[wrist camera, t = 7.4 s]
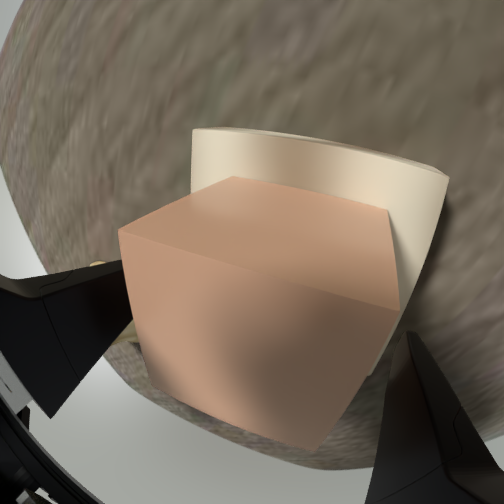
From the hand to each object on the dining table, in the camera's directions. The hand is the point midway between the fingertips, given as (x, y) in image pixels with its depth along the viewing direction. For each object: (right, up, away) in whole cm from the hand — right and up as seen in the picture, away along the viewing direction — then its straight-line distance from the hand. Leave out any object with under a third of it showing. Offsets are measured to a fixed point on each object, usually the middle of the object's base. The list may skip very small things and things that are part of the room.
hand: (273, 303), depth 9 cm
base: (+2, +2, +5) cm, 6 cm away
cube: (+1, +1, +2) cm, 3 cm away
